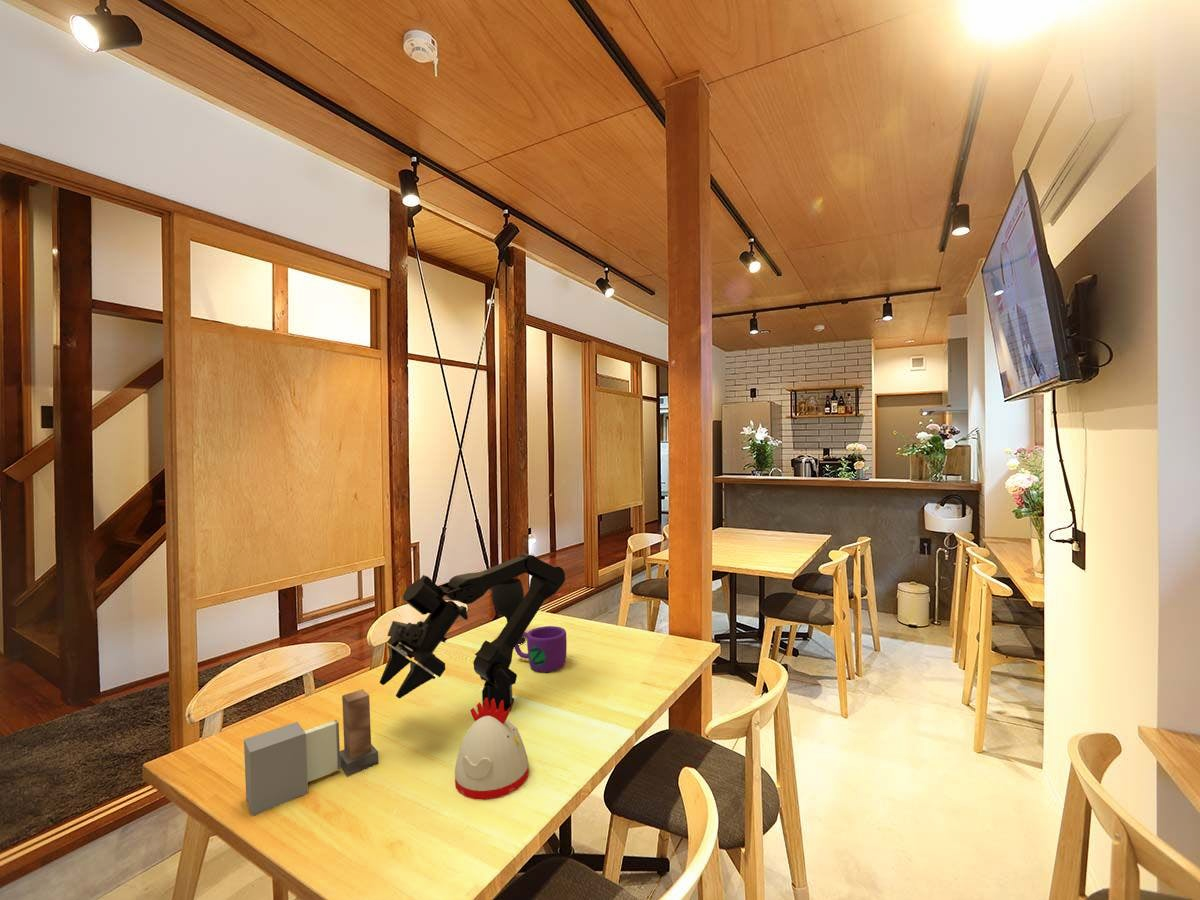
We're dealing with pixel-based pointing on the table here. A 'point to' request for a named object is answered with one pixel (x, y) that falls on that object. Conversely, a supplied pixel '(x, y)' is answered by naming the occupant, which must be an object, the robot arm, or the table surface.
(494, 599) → the wine glass
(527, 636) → the mug
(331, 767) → the pocket door
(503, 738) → the kitchen timer
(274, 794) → the pocket wall
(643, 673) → the table surface
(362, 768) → the wooden post on base
